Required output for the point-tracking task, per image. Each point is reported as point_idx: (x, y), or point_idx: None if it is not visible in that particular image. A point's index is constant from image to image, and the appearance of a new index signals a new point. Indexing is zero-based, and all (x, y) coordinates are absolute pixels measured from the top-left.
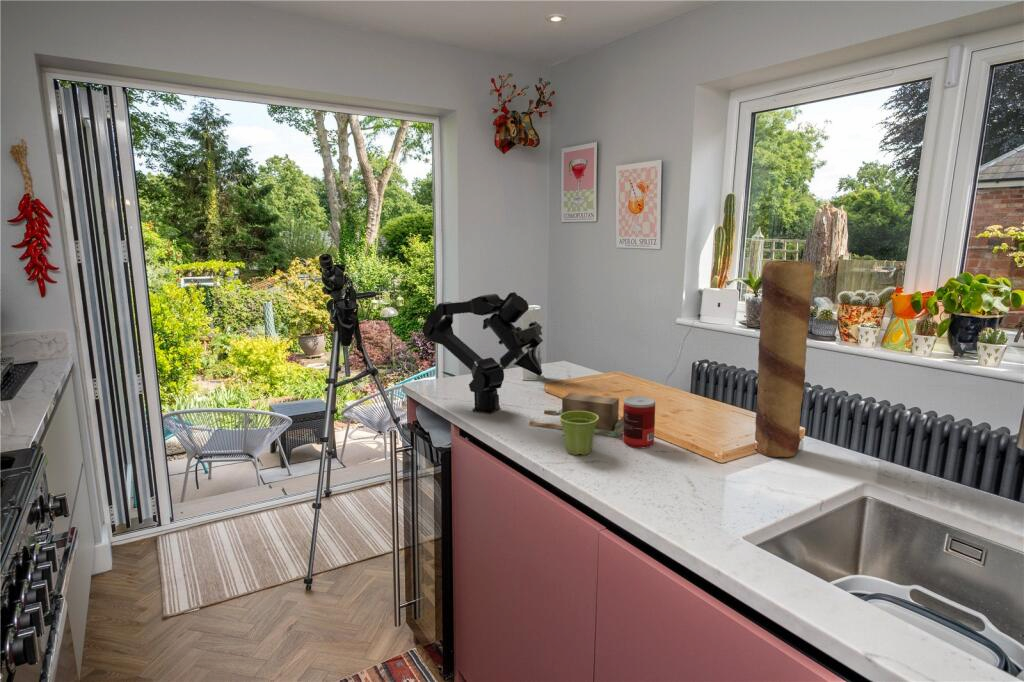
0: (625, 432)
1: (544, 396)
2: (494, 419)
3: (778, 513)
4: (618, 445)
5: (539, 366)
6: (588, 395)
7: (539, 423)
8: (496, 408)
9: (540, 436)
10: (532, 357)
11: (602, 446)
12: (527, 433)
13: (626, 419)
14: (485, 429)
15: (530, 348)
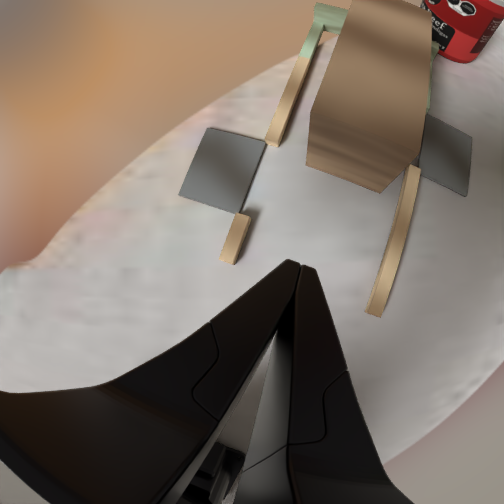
0: (479, 48)
1: (54, 266)
2: None
3: None
4: (475, 77)
5: (260, 292)
6: (344, 46)
7: (394, 276)
8: (216, 443)
9: (472, 266)
10: (213, 434)
11: (492, 109)
12: (451, 312)
13: (494, 29)
14: (405, 444)
15: (25, 499)
